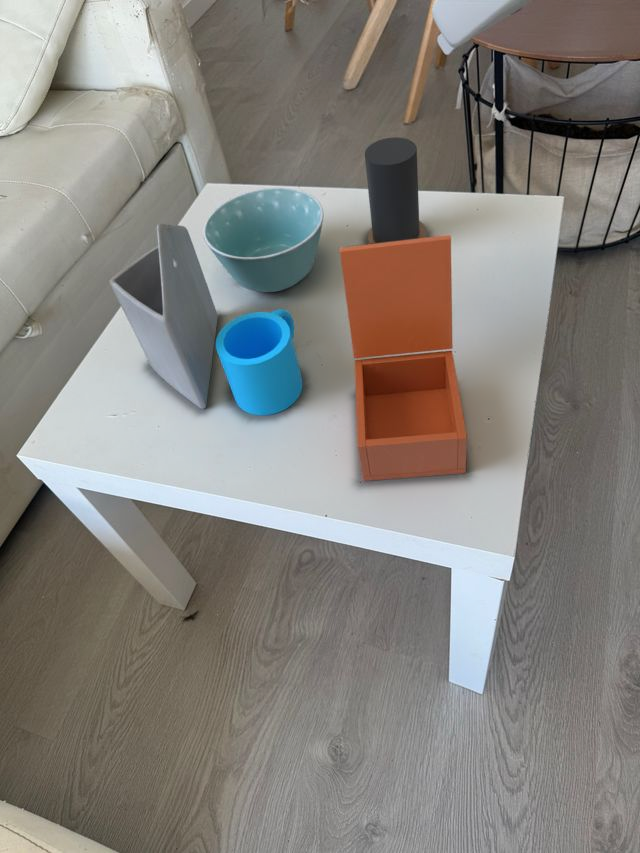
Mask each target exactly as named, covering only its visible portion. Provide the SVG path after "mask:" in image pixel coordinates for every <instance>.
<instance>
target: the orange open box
mask: <svg viewBox="0 0 640 853" xmlns="http://www.w3.org/2000/svg"><path fill="white" fill-rule="evenodd" d="M457 377H458V376H457V371H456V365H455V359H454V353H453V350H452V349H449V350H439V351H428V352H418V353H408V354H398V355H388V356H378V357H367V358H358V359H354V384H355V387H354V388H355V409H356V410H355V412H356V433H357V434H356V439H357V441H356V442H357V451H358V457H359V462H360V468H361V474H362V475H361V476H362V481H363V482H371V481H383V480H397V479H407V478H409V479H410V478H422V477H433V476H447V475H458V474H459V475H460V474H466V472H467V471H466V469H467V465H466V464H467V448H468V447H467V445H468V444H467V443H468V437H467V436H468V435H467V430H466V424H465V417H464V412H463V407H462V406H463V405H462V400H461V394H460V389H459V388H460V387H459V384H458V383H459V382H458V378H457Z"/></svg>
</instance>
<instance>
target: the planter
mask: <svg viewBox="0 0 640 853" xmlns="http://www.w3.org/2000/svg"><path fill="white" fill-rule="evenodd" d="M156 235H157V245H156V246H155V247H153V248H152V249H150V250H149V251H147V252H145V253H144V254H143V255H141V256H140V257H138V258H137V259H135V260H134V261H132V262H131V263H129V264H128V265H127V266H125V267H124V268H123V269H121V270H120V271H119V272H117V273H116V274H115V275H113V276H112V278H110V279H109V284H110V286H111V289H112V291H113V294H114V295H115V297H116V299H117V301H118V303H119V305H120V307H121V308H122V311H123V313H124V315H125V316H126V319H127V321H128V323H129V325H130V327H131V329H132V331H133V333H134V335H135V337H136V339H137V341H138V343H139V345H140V347H141V349H142V351H143V353H144V355H145V357H146V359H147V362H148V364H149V366H150V367H151V368H152V369H153V370H154V372H156V373H157V375H158V376H159V377H160V378H162V380H163V381H165V382H166V383H167V384H168V385H169V386H171V387H172V388H173V389H175V390H176V391H177V392H178V393H179V394H181V396H184V397H185V398H186V399H187V400H188V401H190V402H191V403H193V404H194V405H195V406H197V407H198V408H199V409H200V410H204V409H205V408H206V407H207V406H208V394H209V388H210V379H211V374H212V373H211V372H212V365H213V358H214V350H215V343H216V334H217V324H218V319H219V314H218V311H217V309H216V305H215V303H214V300H213V297H212V295H211V292H210V289H209V286H208V283H207V280H206V278H205V275H204V272H203V269H202V266H201V264H200V261H199V258H198V255H197V252H196V249H195V247H194V243H193V240H192V238H191V236H190V233H189V231H188V229H187V227H186V226H183V225H179V224H172V223H158V224H157V225H156Z"/></svg>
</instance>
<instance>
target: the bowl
mask: <svg viewBox="0 0 640 853" xmlns="http://www.w3.org/2000/svg"><path fill="white" fill-rule="evenodd" d="M324 216H325V215H324V208H323V206H322V204H321V202H320V201H319V200H318V199H317V198H316V197H315V196H314V195H312V194H310V193H308V192H306V191H303V190H301V189H297V188H291V187H267V188H260V189H255V190H250V191H248V192H244V193H241V194H239V195H237V196H234V197H231V198H230V199H228V200H227V201H225V202H223V203H222V204H220V205H219V206H217V207H216V208H215V209H214V210H213V211H212V212H210V215H209V216H208V217H207V219H206V221H205V223H204V225H203V229H202V236H203V239H204V242H205V243H206V245H207V247H208V248H209V249H210V251H211V252H212V254H213V255H214V257H216V259H217V260H218V261H219V263H220V264H221V266H223V267H224V269H225V270H226V271H227V273H228V274H229V275H230V276H231V278H233V279H234V281H235V282H236V283H237V284H238V285H239V286H241V287H243V288H245V289H248V290H251V291H255V292H260V293H275V292H281V291H284V290H287V289H289V288H291V287H293V286H295V285H296V284H298V283H299V282H300V281H301V280H303V279H304V278H305V277H306V276H307V275H308V274H309V273H310V272H311V270H312V269H313V266H314V263H315V259H316V256H317V251H318V247H319V243H320V237H321V234H322V227H323V222H324Z"/></svg>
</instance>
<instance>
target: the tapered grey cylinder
mask: <svg viewBox="0 0 640 853" xmlns="http://www.w3.org/2000/svg"><path fill="white" fill-rule="evenodd" d="M417 148H418V147H417V145H416V143H415V142H413V140H410V139H409V138H404V137H397V136H395V137H386V138H383V139H380V140H377V141H374V142H372V143H371V144H369V146H367V147H366V149H365V151H364V161H365V162H364V163H365V171H366V180H367V182H366V183H367V192H368V202H369V212H370V222H371V228H372V233H373V239H374V240H375V242H376V243H378V242H386V241H394V240H403V239H411V238H417V237H418V236H419V233H420V228H419V221H420V202H419V177H418V176H419V175H418V174H419V173H418V171H419V170H418V149H417Z"/></svg>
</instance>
